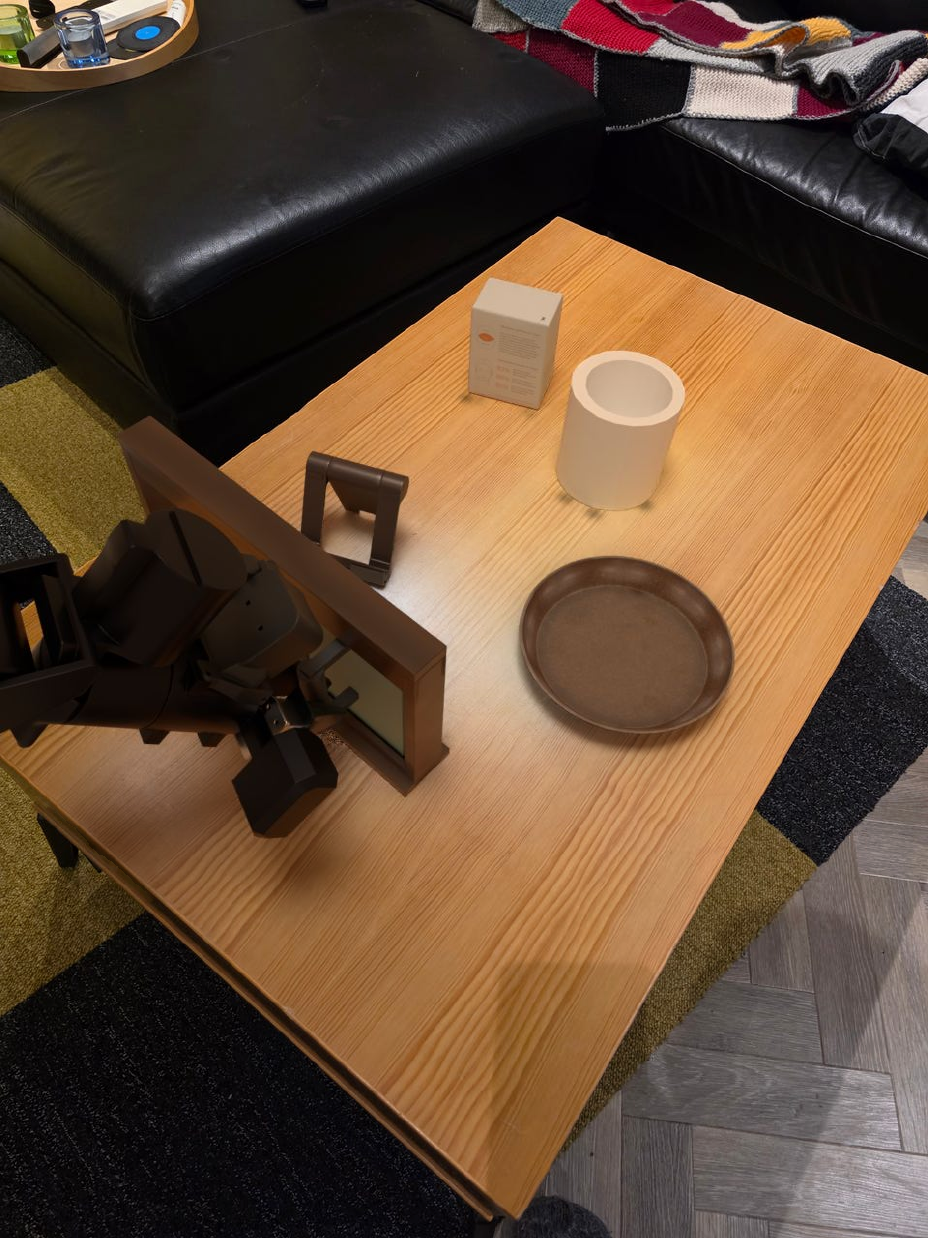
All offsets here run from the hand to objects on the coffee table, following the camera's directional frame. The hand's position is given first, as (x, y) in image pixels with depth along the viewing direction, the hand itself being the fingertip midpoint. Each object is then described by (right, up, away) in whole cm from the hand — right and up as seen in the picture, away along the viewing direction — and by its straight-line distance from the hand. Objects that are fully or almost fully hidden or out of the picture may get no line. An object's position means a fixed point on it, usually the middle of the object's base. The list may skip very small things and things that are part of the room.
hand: (335, 700), depth 62 cm
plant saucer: (+22, +3, +12) cm, 25 cm away
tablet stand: (-1, +12, +18) cm, 22 cm away
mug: (+24, +21, +25) cm, 41 cm away
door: (0, -3, +5) cm, 6 cm away
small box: (+14, +31, +31) cm, 46 cm away
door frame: (-5, +2, +10) cm, 11 cm away
